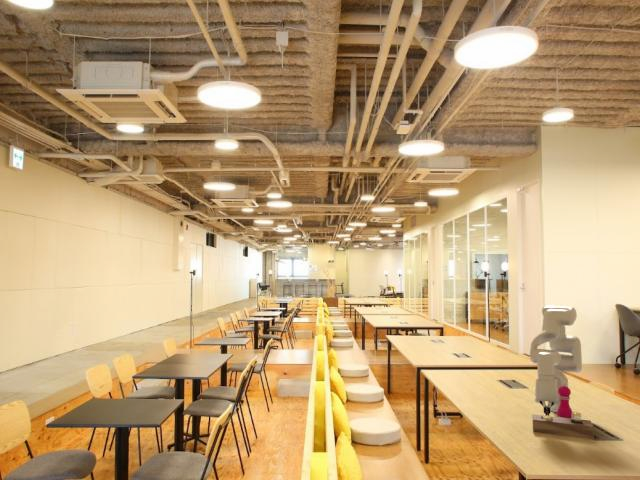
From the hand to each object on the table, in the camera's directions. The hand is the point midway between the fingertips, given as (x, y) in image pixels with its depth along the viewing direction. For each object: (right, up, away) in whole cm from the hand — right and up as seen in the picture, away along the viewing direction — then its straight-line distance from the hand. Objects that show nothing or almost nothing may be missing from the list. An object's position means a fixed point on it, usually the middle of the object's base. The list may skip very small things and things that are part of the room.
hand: (547, 414), depth 236 cm
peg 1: (0, -6, -1) cm, 6 cm away
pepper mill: (+16, -9, +13) cm, 22 cm away
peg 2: (+12, -2, -6) cm, 13 cm away
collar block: (+6, -8, -3) cm, 10 cm away
